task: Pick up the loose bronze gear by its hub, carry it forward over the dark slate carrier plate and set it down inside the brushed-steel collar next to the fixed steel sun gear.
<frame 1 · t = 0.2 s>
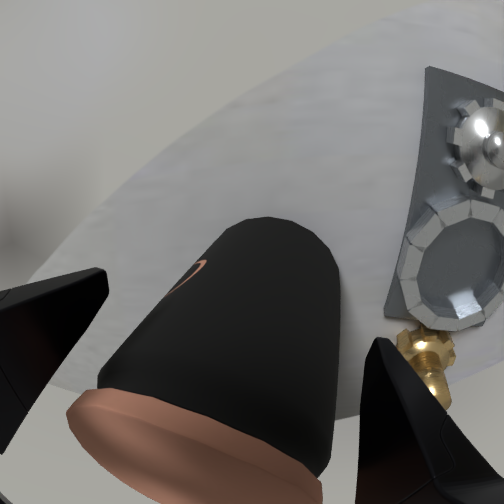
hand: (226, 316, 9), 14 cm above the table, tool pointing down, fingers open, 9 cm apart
carrier: (468, 209, 18), on the table
coffee jar: (273, 274, 25), on the table
planet gear: (419, 349, 24), on the table
sun gear: (480, 145, 16), resting on carrier
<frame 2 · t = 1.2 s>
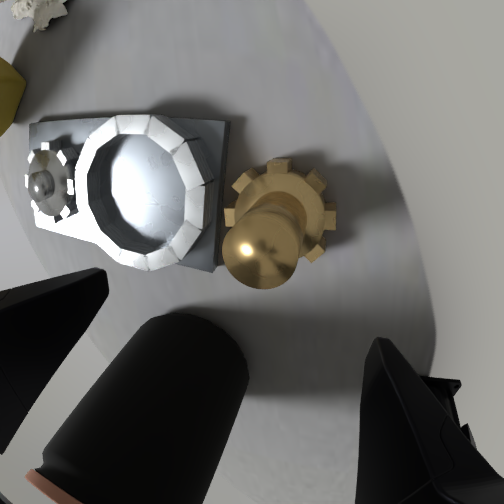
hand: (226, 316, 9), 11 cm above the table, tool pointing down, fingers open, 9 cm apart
carrier: (108, 181, 21), on the table
coffee jar: (196, 353, 26), on the table
flower pot: (13, 93, 20), on the table
planet gear: (284, 209, 19), on the table
sun gear: (66, 176, 22), resting on carrier
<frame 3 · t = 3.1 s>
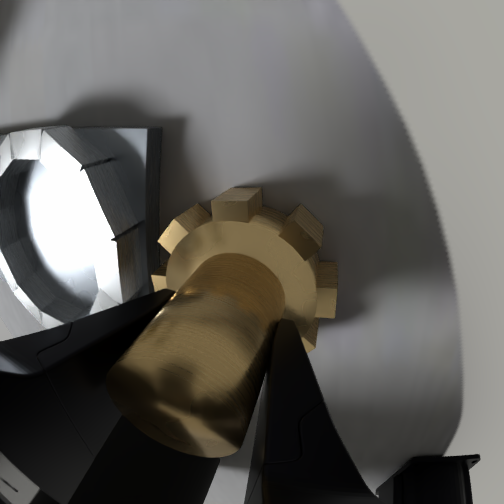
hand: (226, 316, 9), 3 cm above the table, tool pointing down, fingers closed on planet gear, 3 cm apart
carrier: (28, 216, 14), on the table
coffee jar: (157, 422, 19), on the table
planet gear: (251, 270, 12), on the table, touching gripper
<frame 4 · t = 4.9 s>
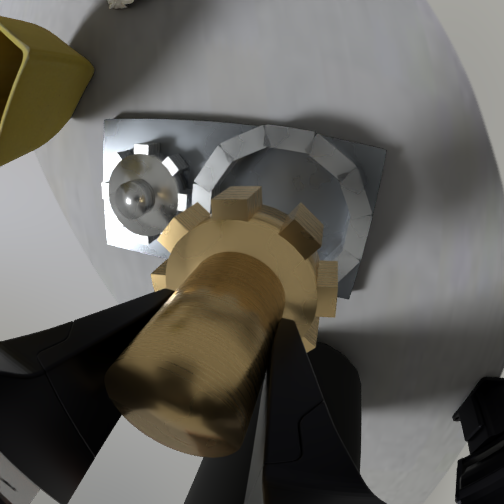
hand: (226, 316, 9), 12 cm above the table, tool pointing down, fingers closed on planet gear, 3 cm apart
carrier: (224, 197, 20), on the table
coffee jar: (300, 376, 25), on the table
flower pot: (70, 82, 19), on the table
planet gear: (251, 269, 12), point 9 cm above the table, touching gripper
sun gear: (158, 187, 21), resting on carrier
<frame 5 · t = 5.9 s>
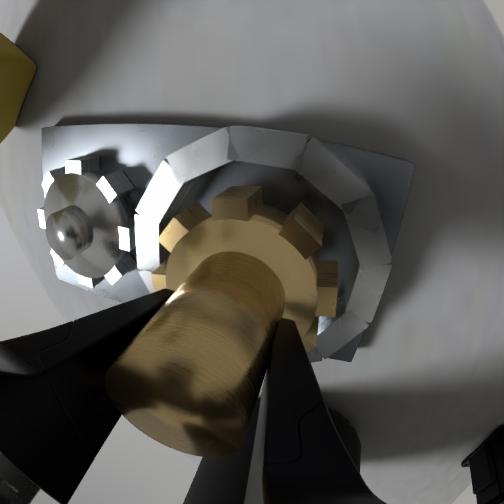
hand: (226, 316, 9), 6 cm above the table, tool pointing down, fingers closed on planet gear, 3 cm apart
carrier: (184, 228, 15), on the table
coffee jar: (289, 431, 20), on the table
flower pot: (16, 84, 14), on the table
planet gear: (251, 269, 12), point 3 cm above the table, touching gripper
sun gear: (106, 212, 16), resting on carrier
when the fingers open (5 cm above the table, at t = 6.6 s): planet gear drops 1 cm, resting on carrier.
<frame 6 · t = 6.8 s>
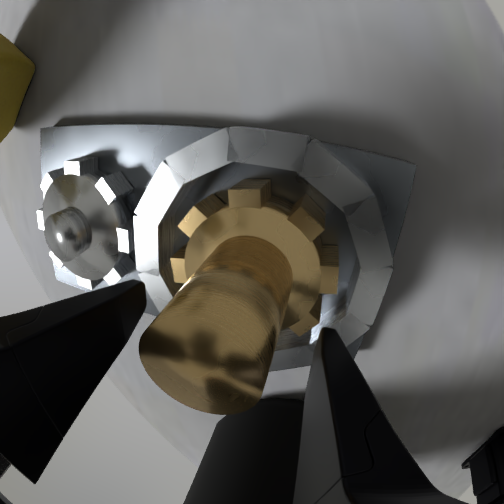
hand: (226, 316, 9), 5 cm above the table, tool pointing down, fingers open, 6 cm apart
carrier: (183, 229, 15), on the table
coffee jar: (289, 433, 20), on the table
flower pot: (15, 84, 14), on the table
planet gear: (261, 254, 13), point 1 cm above the table, touching carrier
sun gear: (105, 214, 15), resting on carrier
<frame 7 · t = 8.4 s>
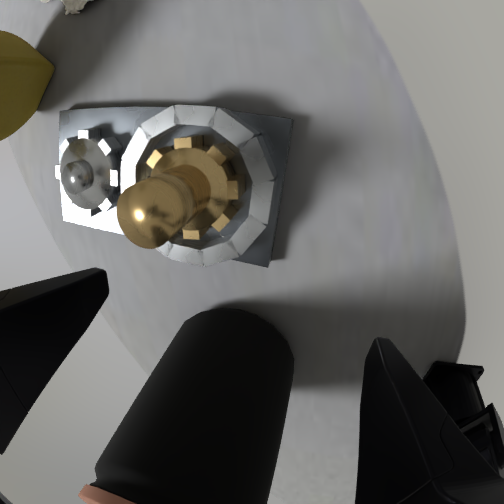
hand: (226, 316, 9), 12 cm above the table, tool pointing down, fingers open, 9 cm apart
carrier: (153, 173, 21), on the table
coffee jar: (237, 348, 27), on the table
flower pot: (37, 79, 20), on the table
planet gear: (198, 183, 20), point 1 cm above the table, touching carrier
sun gear: (102, 167, 22), resting on carrier
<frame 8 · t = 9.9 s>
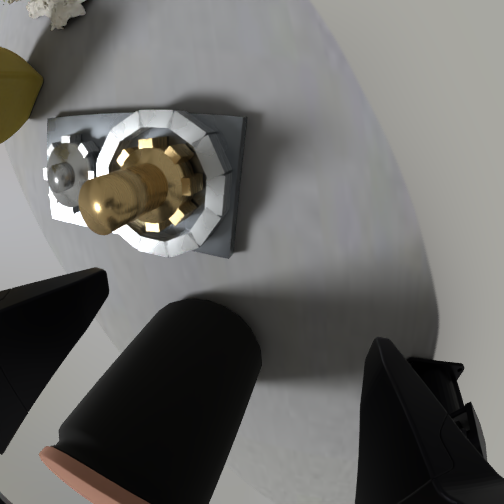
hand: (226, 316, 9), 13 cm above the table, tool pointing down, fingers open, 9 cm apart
carrier: (127, 173, 23), on the table
coffee jar: (209, 340, 28), on the table
flower pot: (29, 90, 22), on the table
planet gear: (163, 180, 21), point 1 cm above the table, touching carrier
sun gear: (85, 169, 23), resting on carrier
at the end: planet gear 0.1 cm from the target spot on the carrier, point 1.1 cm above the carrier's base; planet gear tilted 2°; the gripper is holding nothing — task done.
